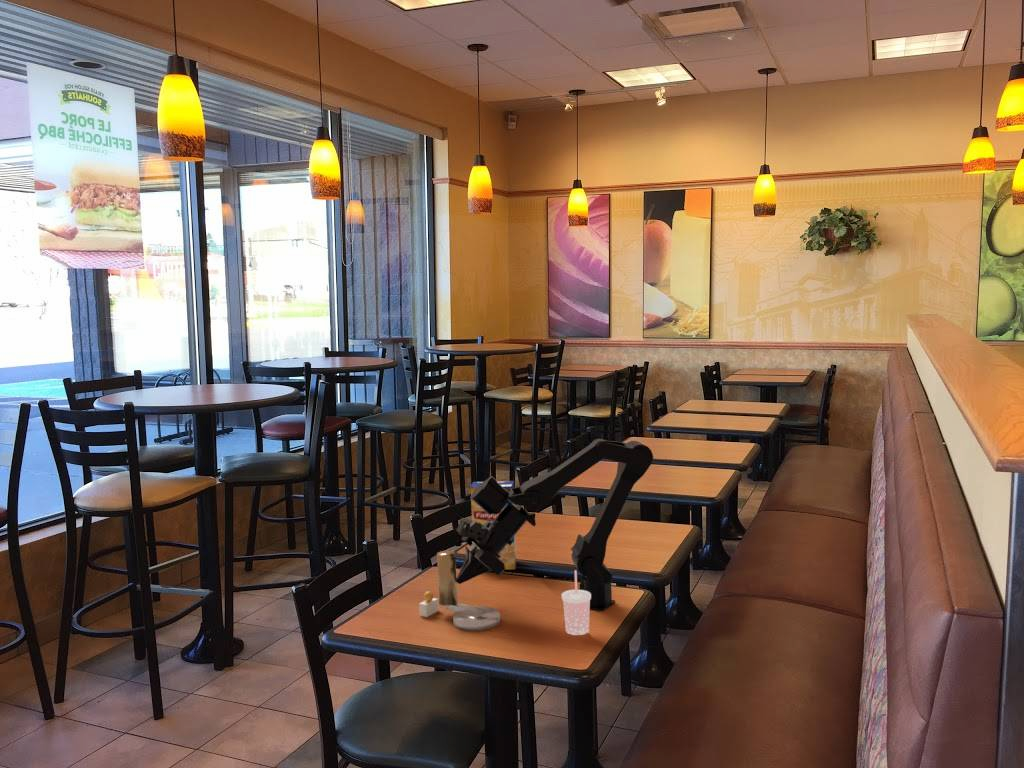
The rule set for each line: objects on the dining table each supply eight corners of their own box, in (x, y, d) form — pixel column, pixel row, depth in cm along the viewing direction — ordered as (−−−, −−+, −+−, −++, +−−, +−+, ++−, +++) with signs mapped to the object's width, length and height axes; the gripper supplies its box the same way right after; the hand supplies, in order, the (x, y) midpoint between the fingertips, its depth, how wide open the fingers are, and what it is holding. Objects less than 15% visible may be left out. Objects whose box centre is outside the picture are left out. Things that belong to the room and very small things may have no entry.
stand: (531, 621, 184) (530, 593, 184) (483, 648, 170) (482, 618, 170) (453, 603, 197) (452, 577, 197) (403, 627, 183) (401, 599, 183)
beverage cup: (591, 643, 171) (589, 575, 170) (561, 641, 172) (559, 574, 171) (593, 631, 177) (591, 566, 176) (564, 630, 178) (562, 565, 177)
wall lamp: (509, 619, 182) (507, 556, 181) (479, 634, 175) (476, 569, 173) (457, 606, 192) (454, 546, 190) (426, 619, 184) (423, 557, 182)
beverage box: (515, 569, 221) (512, 486, 219) (473, 570, 222) (470, 487, 220) (516, 561, 228) (513, 480, 226) (476, 562, 229) (472, 481, 227)
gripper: (468, 496, 195) (423, 549, 193) (487, 514, 177) (438, 572, 175) (503, 527, 198) (459, 578, 196) (525, 547, 180) (476, 604, 178)
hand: (457, 582), depth 186 cm, fingers closed, pressing on wall lamp
